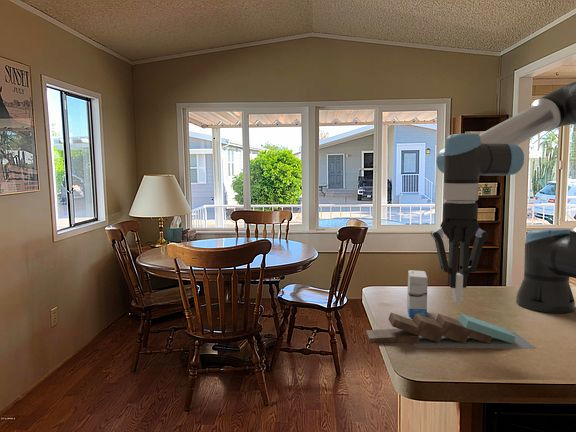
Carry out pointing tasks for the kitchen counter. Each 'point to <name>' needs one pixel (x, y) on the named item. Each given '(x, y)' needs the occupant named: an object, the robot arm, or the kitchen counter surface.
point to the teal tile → (486, 328)
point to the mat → (473, 343)
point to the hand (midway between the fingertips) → (457, 300)
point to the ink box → (417, 293)
